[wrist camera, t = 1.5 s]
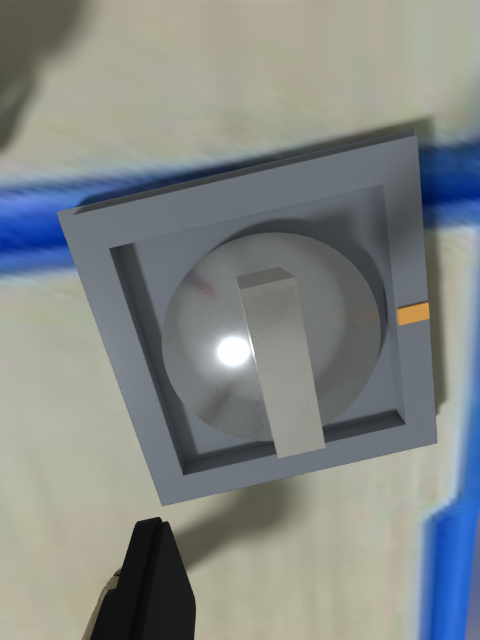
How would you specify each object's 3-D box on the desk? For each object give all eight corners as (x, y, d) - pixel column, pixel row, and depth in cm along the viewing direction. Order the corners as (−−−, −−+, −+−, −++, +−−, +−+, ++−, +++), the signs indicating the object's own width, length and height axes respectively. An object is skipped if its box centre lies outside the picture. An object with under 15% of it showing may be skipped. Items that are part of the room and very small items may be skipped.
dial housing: (68, 212, 20) (43, 210, 17) (398, 136, 20) (428, 120, 17) (163, 484, 25) (156, 516, 22) (421, 424, 25) (447, 449, 22)
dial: (137, 260, 19) (108, 272, 14) (358, 209, 19) (408, 202, 14) (195, 448, 23) (188, 511, 18) (381, 405, 22) (427, 456, 17)
